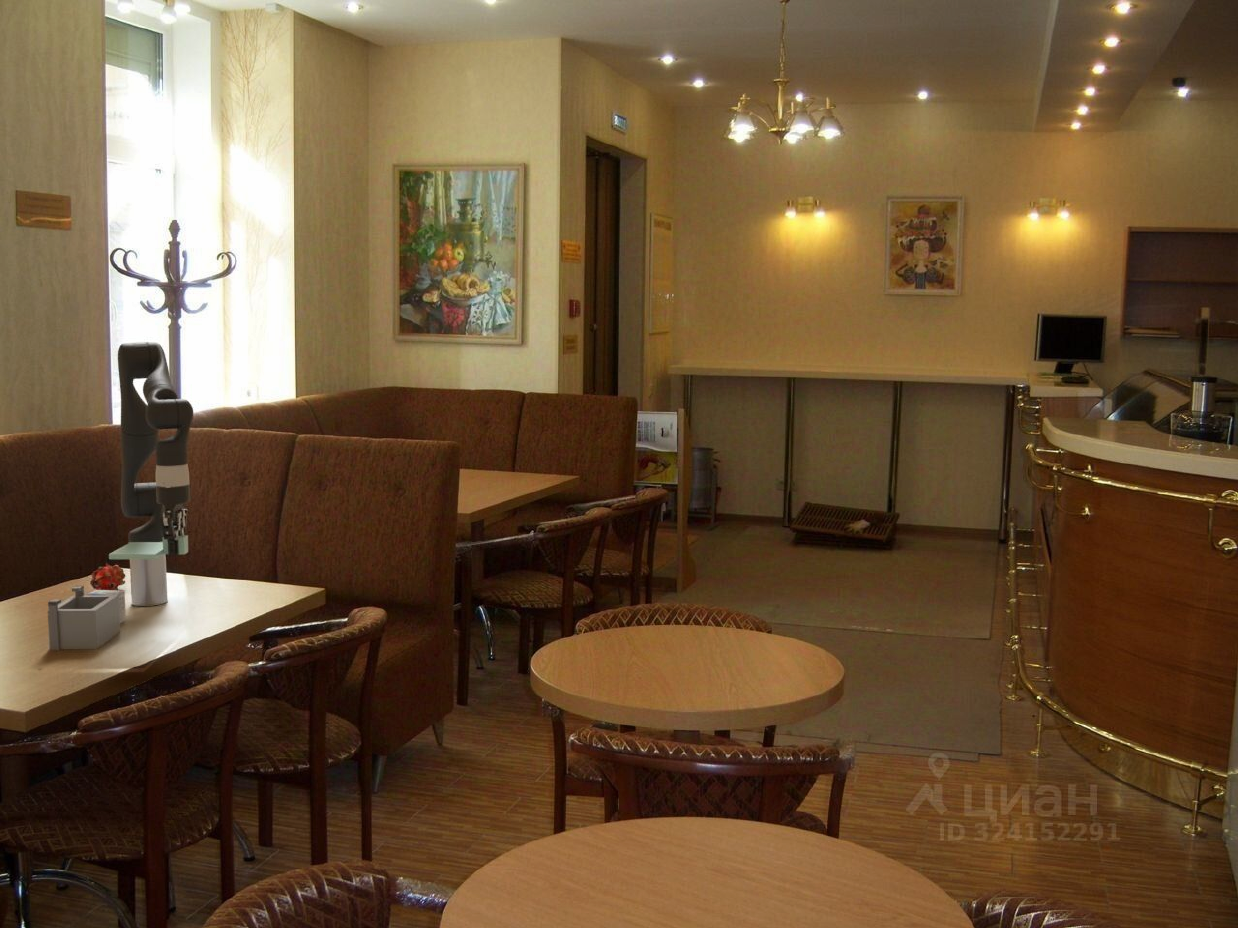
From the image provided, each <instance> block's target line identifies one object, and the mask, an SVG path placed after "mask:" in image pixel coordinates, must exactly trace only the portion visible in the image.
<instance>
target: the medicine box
mask: <svg viewBox="0 0 1238 928" xmlns="http://www.w3.org/2000/svg"><path fill="white" fill-rule="evenodd" d="M87 595H118V597H119V617H120V624H122V623H124V622H126V621H127V611H126V610H127V609H126V597H125V595H126V593H125V590H118V589H117V590H96V589H94V590H92V591H90V592H89V593H87ZM87 595H86V596H87Z"/></svg>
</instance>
